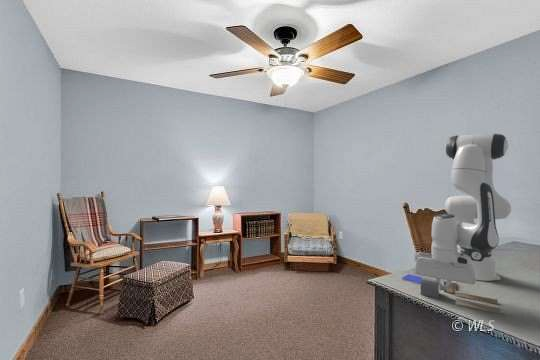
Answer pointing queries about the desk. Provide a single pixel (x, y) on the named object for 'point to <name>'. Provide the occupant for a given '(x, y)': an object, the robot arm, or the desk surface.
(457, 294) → the cradle
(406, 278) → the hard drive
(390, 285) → the desk surface
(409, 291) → the desk surface
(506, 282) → the desk surface
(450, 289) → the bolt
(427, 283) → the block
